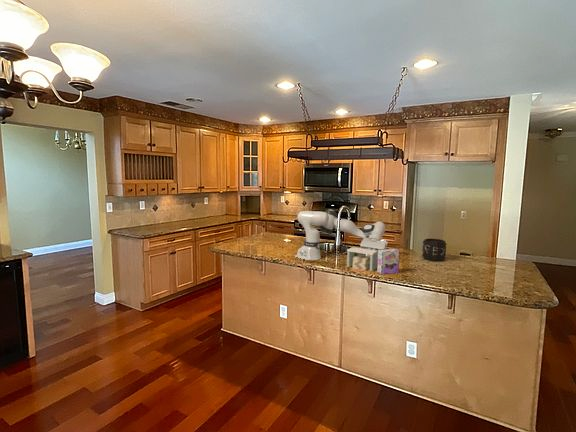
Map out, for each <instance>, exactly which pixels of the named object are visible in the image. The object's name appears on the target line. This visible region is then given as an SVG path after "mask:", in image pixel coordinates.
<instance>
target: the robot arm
mask: <svg viewBox="0 0 576 432" xmlns="http://www.w3.org/2000/svg"><path fill="white" fill-rule="evenodd" d="M296 217H297V221H298V223H299V224H301V226H303V228H304V231H305V241H303V245H302V246H301V247H300V248H298V249H297V252H296V253H297V254H294V256H295V257H294V258H296V257H298V258H297V259H300V258H301V259H300V260H303V259H305V261H317V260H321V259H322V256H321V251H320V250H321V249H320V248H321V241H320V240H321V239H320V238H321V237H320V236H321V235H320V232H322V233H323V234H325V235H329V234H331V233H333V229H334V228H335V229H336V230H338V229H337V221H338V213H337V212H336V211H335V210H333V209H330V208H329V209H326V210H325V211H318V210H316V211H315V210H301V211H299V212H298V214H297V216H296ZM340 219H341V220H340V230H339V231H340V232H344V233H347V234H350V235H352V236H354V237H357V238H359V239H362V240H361V242H360V245H359V246H360V248H362V249H369V250H376V251H378V250H386V249H387V246H388V245H389V244H388V243H389V242H388V240H384V239H383V236H384V234H385V232H386V224H385V223H384V222H382V221H380V220H379V221H376V222H375V223H368V224H365V225H363V226H362V228H361V229H360V228H359V227H358V226H357V225H356V224H355V222H353V221H351V220H350V219H346V218H340ZM314 226H319V227H318V228H319V230H320V231H319V230H318V229H317V228H315V227H314Z"/></svg>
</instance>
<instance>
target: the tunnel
mask: <svg viewBox="0 0 576 432" xmlns="http://www.w3.org/2000/svg"><path fill="white" fill-rule="evenodd" d="M346 252H347V257H346V259H347V260H346V267H347V268H350V267H353V257H355V256H356V253H357V254H364V255H370V256H369V257H370V268H369V272H373V271H375V270H377V266H378V251H377V250H369V249H363V248H361V247H354V246H352V247H350V248H347V249H346Z"/></svg>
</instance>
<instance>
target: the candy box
mask: <svg viewBox="0 0 576 432" xmlns="http://www.w3.org/2000/svg"><path fill="white" fill-rule="evenodd" d="M399 263H400V250H399V249H397V248H391V249H389V248H386V250H378V257H377V269H376V273H379V274H380V275H388V274H389V275H390V274H398V273H399V268H400V267H399V266H400V264H399Z"/></svg>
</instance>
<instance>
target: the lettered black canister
mask: <svg viewBox="0 0 576 432" xmlns="http://www.w3.org/2000/svg"><path fill="white" fill-rule="evenodd" d="M446 254H447V243H446V241H445V240H443V239H440V238H424V240H423V241H422V254H421V257H422V258H423V259H424V260H425V261H429V262H439V263H440V262H443V261H445V259H446Z"/></svg>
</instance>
